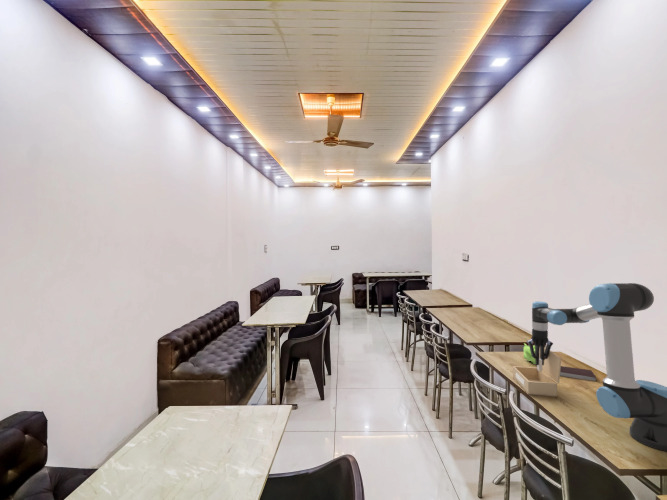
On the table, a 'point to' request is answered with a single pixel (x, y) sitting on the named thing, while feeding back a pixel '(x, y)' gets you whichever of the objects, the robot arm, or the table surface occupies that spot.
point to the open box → (534, 381)
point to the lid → (552, 365)
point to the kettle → (528, 354)
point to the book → (577, 373)
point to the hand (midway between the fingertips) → (539, 370)
